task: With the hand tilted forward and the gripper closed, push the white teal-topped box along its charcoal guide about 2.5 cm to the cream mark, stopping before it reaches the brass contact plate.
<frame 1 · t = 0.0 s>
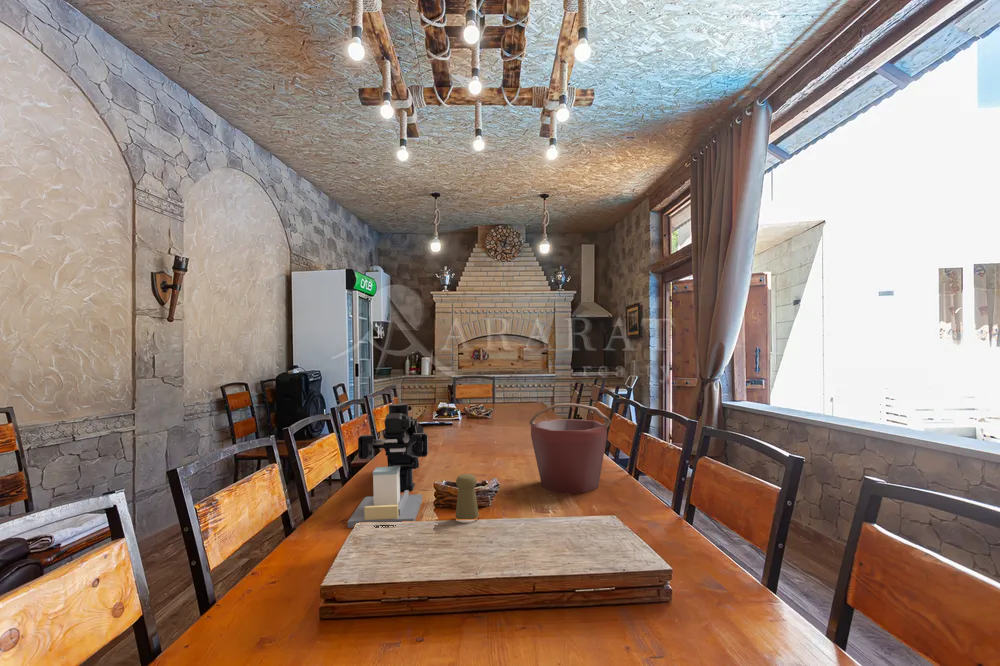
hand: (388, 452, 124), 17 cm above the table, tool horizontal, fingers open, 9 cm apart
olive green pawn: (467, 519, 122), on the table
white teal-topped box: (386, 487, 127), point 7 cm above the table, slide at 0.0 cm
bucket: (569, 486, 147), on the table
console: (387, 512, 128), on the table
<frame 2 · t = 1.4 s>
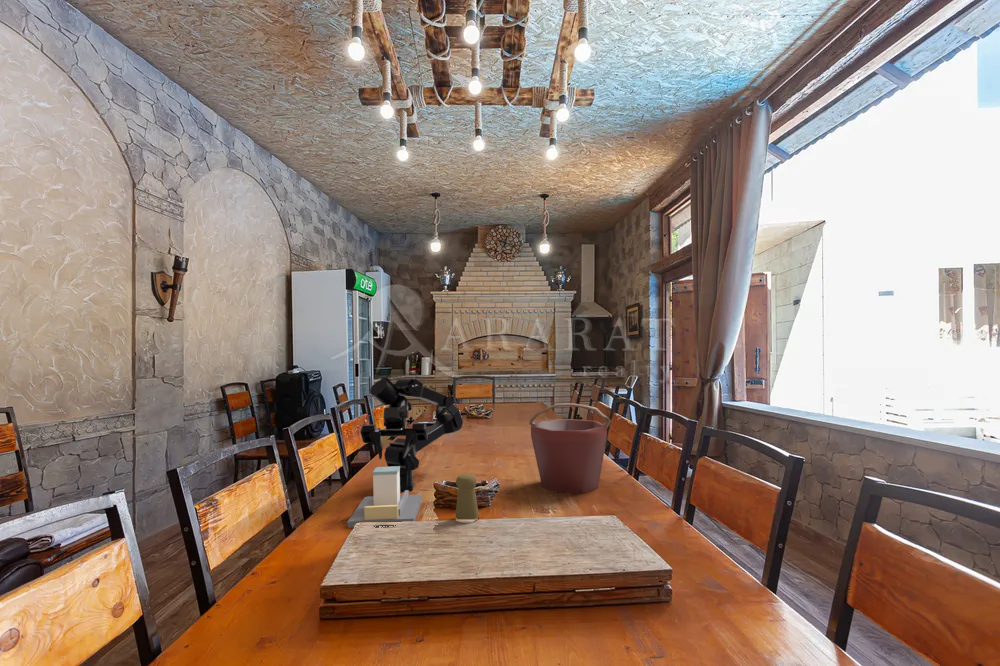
hand: (391, 458, 135), 13 cm above the table, tool tilted 45°, fingers open, 6 cm apart
nothing on the table moved.
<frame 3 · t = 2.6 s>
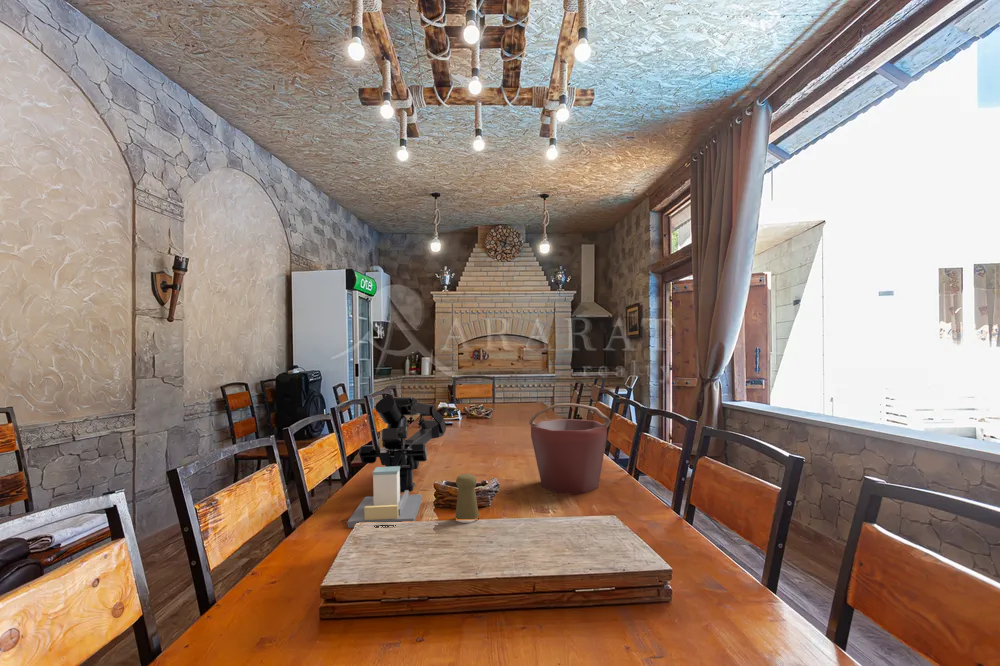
hand: (390, 480, 133), 7 cm above the table, tool tilted 45°, fingers closed
nothing on the table moved.
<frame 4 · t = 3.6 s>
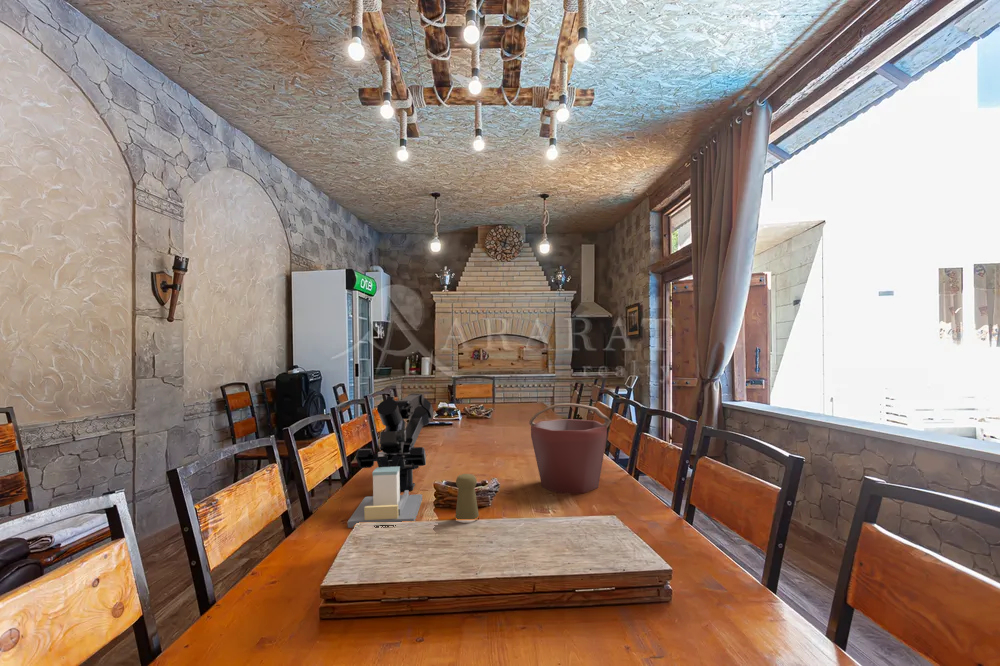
hand: (388, 484, 129), 7 cm above the table, tool tilted 45°, fingers closed, pressing on white teal-topped box
white teal-topped box: (386, 488, 127), point 7 cm above the table, slide at 0.3 cm, touching gripper
everything else where it was.
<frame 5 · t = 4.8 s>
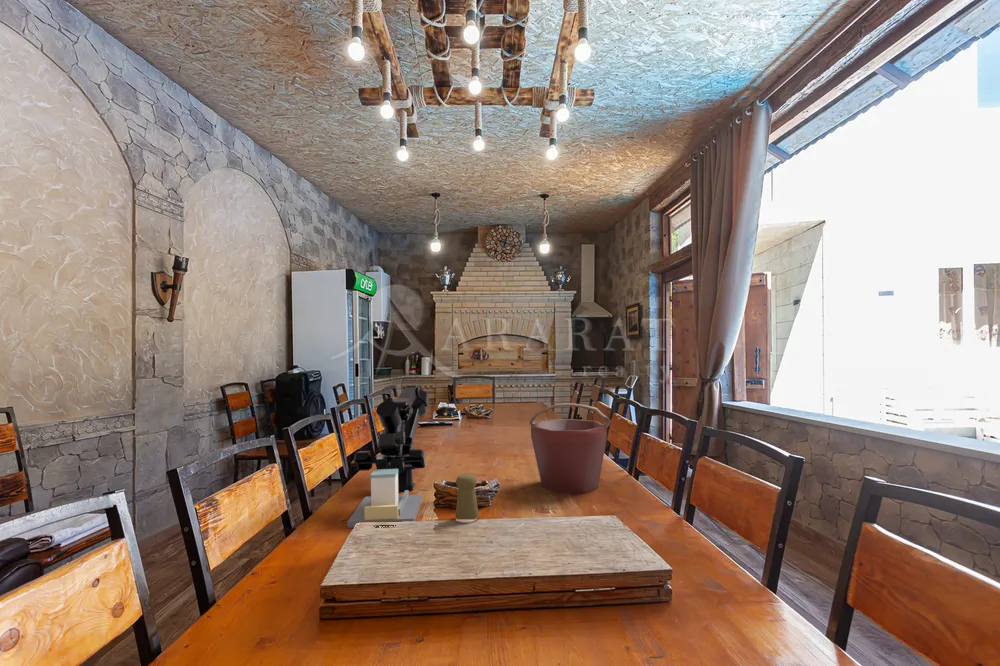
hand: (387, 488, 127), 7 cm above the table, tool tilted 45°, fingers closed
white teal-topped box: (385, 490, 124), point 7 cm above the table, slide at 2.8 cm
everything else where it was.
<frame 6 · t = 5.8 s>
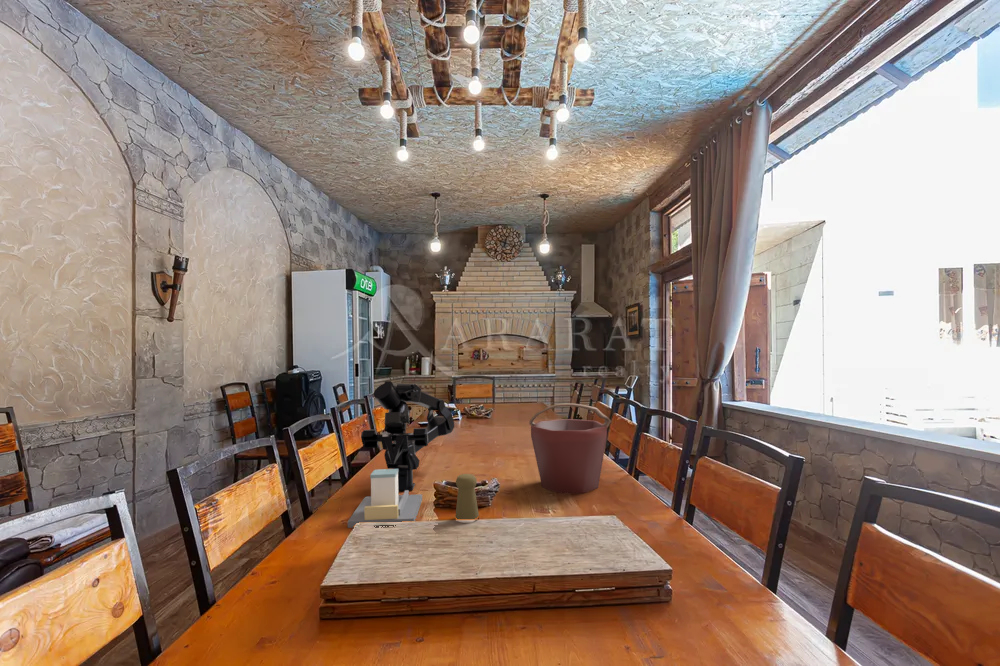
hand: (392, 463, 135), 11 cm above the table, tool tilted 45°, fingers closed
nothing on the table moved.
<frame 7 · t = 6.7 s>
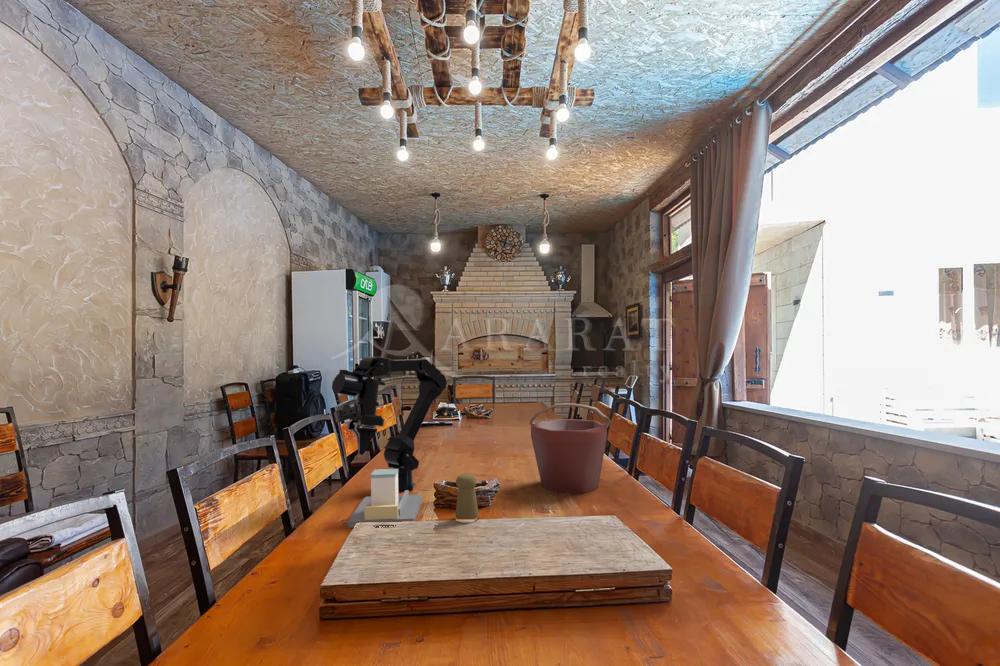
hand: (361, 454, 135), 14 cm above the table, tool tilted 15°, fingers closed
nothing on the table moved.
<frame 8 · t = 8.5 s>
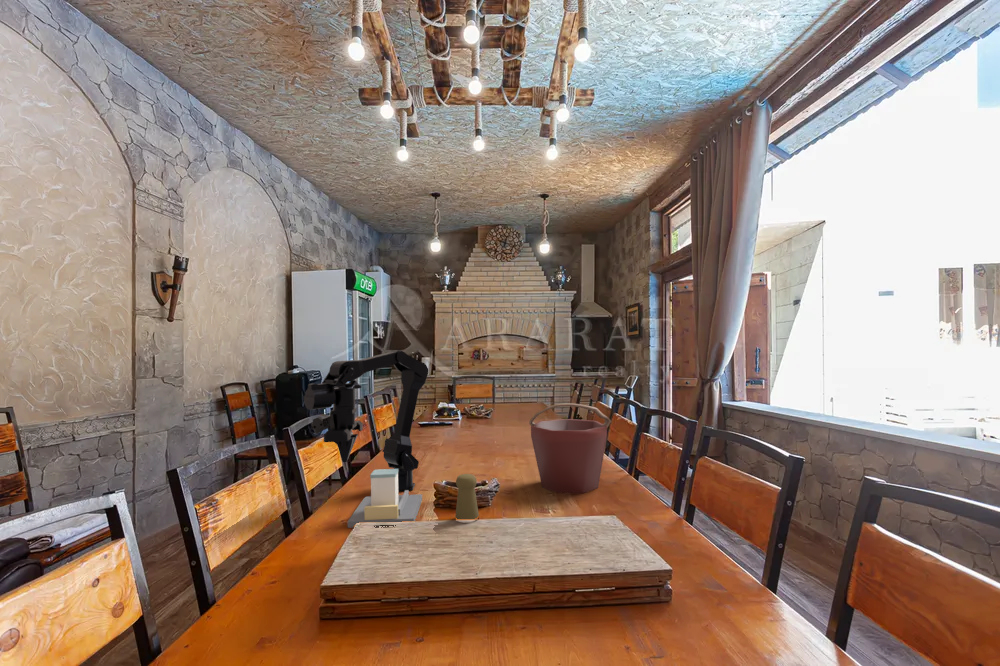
hand: (344, 461, 135), 12 cm above the table, tool pointing down, fingers closed
nothing on the table moved.
at the end: white teal-topped box slide at 2.8 cm; olive green pawn moved 0.2 cm from its start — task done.
